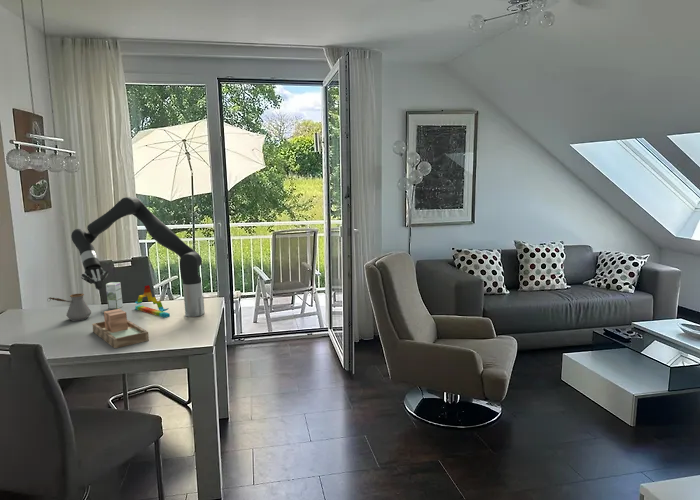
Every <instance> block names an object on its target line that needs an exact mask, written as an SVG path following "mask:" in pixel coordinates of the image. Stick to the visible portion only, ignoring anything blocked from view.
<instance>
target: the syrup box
mask: <svg viewBox="0 0 700 500" xmlns="http://www.w3.org/2000/svg"><path fill="white" fill-rule="evenodd" d="M105 291H106V299H107V309H108V310H116V309H121V308H123V307H124V305H123V295H122V285H121V281H120V282H119V281H118V282H115V281H110V282H108V283H106V284H105Z"/></svg>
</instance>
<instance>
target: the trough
mask: <svg viewBox="0 0 700 500" xmlns="http://www.w3.org/2000/svg"><path fill="white" fill-rule="evenodd" d="M91 325H92V332H93V333H94V334H95V335H96V336H98V337H99V338H101V339H102V340H103V341H104V342H106V343H107V344H108V345H110V346H111V347H112V348H114V349H118V348H122V347H128V346H131V345H136V344H139V343H143V342H149V340H150V337H149V331H148V330H146V329H144V328H142V327H140V326H139V325H138V324H135V322H132V321H131V320H129V319H127V325H128V329H131V328H134V329H136V330H137V331H139V332H140V333H138V334H133V335H129V336H124V337H120V338H115V337H114V336H112V335H111V334H110V333H112V332H110V331H109V330H107V329H106V328H105V320H103V321H100V322H95V323H91Z"/></svg>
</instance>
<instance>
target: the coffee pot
mask: <svg viewBox="0 0 700 500" xmlns="http://www.w3.org/2000/svg"><path fill="white" fill-rule="evenodd" d="M84 296H85V294H84V293H73V294H70V295H69V297H70V299H71V300H69V299H64V298H59V297H58V298H57V297H52V296H51V297H47V302H50V301H58V302H65V303H69V306H68V309H67V312H66V317H67V319H69V320H70V321H73V322H75V321H76V322H77V321H83V320H86V319H88V317H90V316H91V314H92V311H91V309H90V307H89V306H88V305H87V302H86V301H85V299H84V298H83V297H84Z"/></svg>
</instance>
